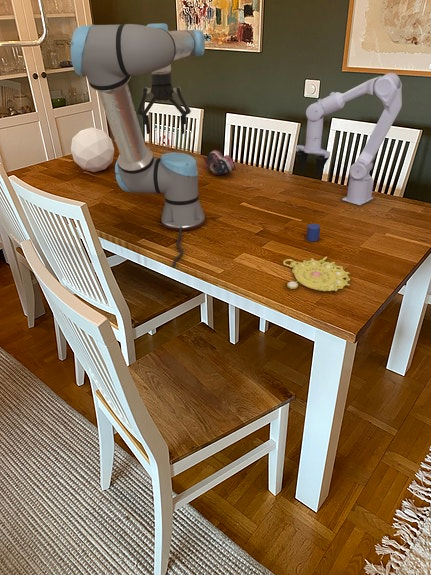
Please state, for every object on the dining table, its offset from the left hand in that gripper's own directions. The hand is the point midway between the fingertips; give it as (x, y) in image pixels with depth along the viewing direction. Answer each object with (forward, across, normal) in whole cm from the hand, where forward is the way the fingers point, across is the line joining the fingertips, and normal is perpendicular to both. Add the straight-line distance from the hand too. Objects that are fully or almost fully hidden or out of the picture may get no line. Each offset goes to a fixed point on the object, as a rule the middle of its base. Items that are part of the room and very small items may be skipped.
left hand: (165, 133), depth 172 cm
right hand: (+15, -57, +1) cm, 59 cm away
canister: (+24, -55, +43) cm, 73 cm away
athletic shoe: (+22, -17, -23) cm, 36 cm away
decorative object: (+24, -54, +66) cm, 88 cm away
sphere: (+22, +40, -25) cm, 53 cm away
